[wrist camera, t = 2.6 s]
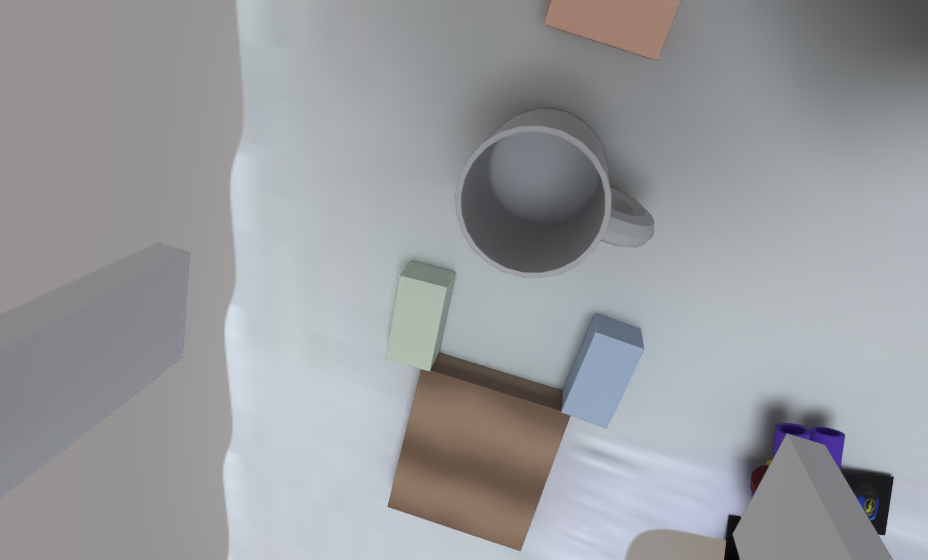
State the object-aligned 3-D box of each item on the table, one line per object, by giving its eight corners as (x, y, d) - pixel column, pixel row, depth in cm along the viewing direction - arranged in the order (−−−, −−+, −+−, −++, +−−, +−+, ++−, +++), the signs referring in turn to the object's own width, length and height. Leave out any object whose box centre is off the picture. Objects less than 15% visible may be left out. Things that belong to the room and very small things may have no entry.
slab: (430, 350, 43) (421, 367, 40) (571, 393, 42) (570, 414, 39) (397, 484, 47) (387, 506, 45) (523, 526, 46) (520, 551, 44)
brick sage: (412, 259, 41) (399, 275, 38) (456, 271, 40) (447, 287, 38) (398, 339, 43) (385, 359, 40) (440, 350, 43) (429, 371, 40)
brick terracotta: (547, 25, 34) (543, 23, 32) (566, -33, 33) (564, -40, 30) (651, 58, 34) (657, 60, 31) (674, 1, 33) (682, -3, 30)
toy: (708, 398, 41) (685, 606, 43) (771, 443, 34) (740, 694, 36) (865, 404, 42) (836, 609, 44) (962, 450, 34) (922, 696, 36)
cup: (509, 88, 36) (486, 101, 27) (673, 151, 35) (699, 184, 27) (468, 202, 38) (435, 244, 30) (619, 262, 38) (627, 322, 30)
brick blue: (595, 312, 40) (595, 332, 37) (640, 327, 39) (644, 349, 37) (563, 388, 42) (561, 412, 39) (605, 403, 42) (606, 428, 39)
